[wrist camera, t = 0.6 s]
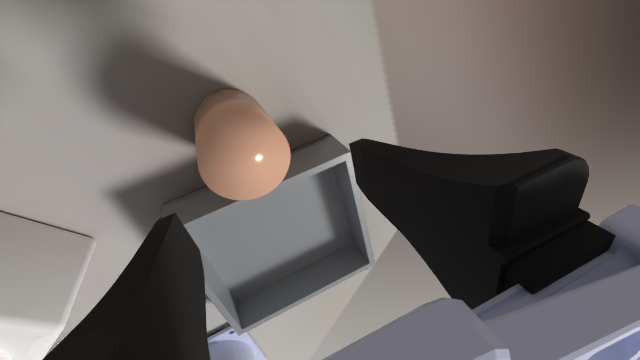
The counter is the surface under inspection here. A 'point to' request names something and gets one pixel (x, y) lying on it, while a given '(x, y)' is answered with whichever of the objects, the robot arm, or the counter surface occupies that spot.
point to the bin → (280, 236)
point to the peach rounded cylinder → (239, 146)
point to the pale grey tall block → (37, 284)
